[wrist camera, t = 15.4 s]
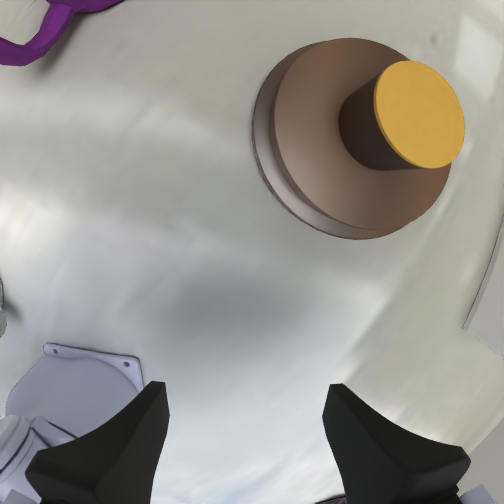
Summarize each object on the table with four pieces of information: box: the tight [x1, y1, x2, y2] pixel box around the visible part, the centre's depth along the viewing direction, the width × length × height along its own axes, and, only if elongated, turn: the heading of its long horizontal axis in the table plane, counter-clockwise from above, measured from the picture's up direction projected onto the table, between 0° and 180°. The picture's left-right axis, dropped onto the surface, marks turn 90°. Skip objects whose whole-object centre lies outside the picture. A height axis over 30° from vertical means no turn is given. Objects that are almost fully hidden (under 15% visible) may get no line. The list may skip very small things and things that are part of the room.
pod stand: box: [252, 38, 451, 240], centre depth 17 cm, size 14×14×4 cm
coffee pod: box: [339, 61, 465, 171], centre depth 13 cm, size 5×5×5 cm
